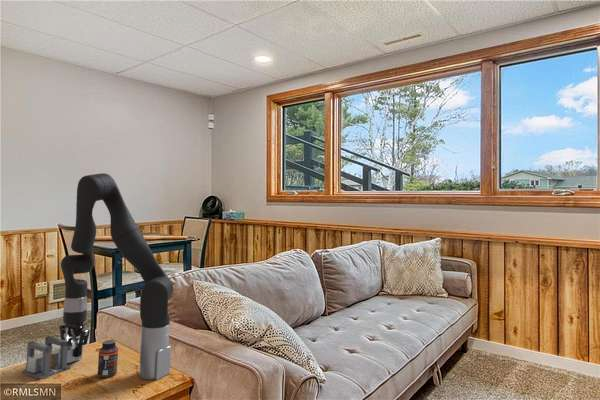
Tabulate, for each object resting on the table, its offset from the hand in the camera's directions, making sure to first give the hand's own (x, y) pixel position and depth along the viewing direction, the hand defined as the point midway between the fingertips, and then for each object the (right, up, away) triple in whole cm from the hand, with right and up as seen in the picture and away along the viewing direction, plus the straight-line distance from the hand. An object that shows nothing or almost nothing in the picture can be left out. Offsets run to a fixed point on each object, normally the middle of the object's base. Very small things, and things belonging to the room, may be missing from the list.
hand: (73, 354), depth 140 cm
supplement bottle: (+18, -3, -10) cm, 20 cm away
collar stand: (-4, -2, -9) cm, 10 cm away
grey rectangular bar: (-3, -1, -6) cm, 6 cm away
